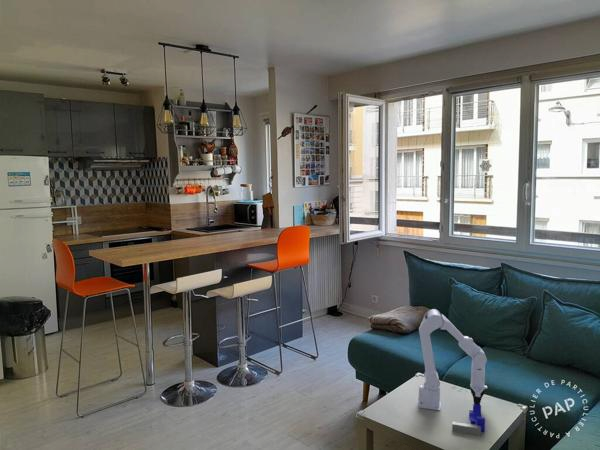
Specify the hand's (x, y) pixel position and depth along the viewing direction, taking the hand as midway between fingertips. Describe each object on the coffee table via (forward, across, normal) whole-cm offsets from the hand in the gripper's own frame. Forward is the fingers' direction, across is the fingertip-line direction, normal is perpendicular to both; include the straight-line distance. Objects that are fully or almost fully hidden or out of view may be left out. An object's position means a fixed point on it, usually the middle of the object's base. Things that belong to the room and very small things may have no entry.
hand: (476, 404), depth 204 cm
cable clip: (+2, -13, 0) cm, 13 cm away
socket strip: (+2, -21, +4) cm, 21 cm away
